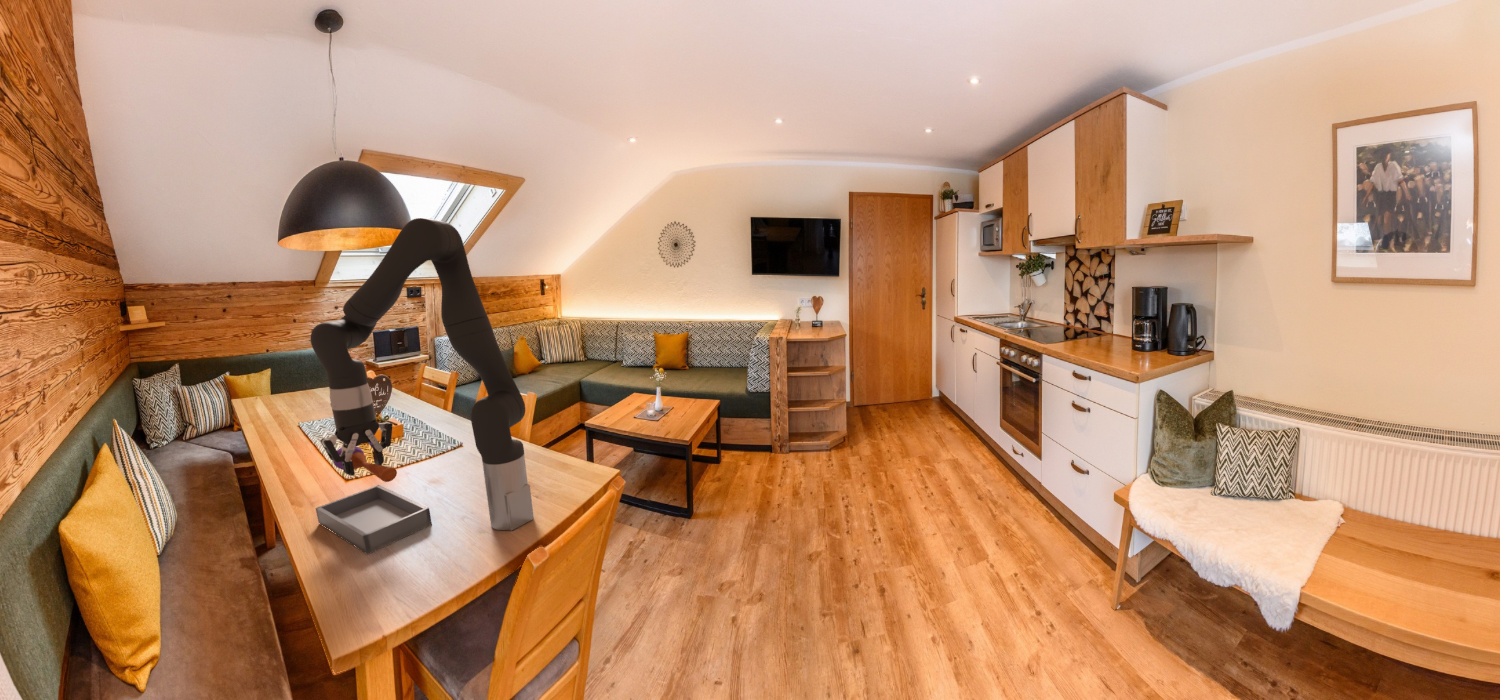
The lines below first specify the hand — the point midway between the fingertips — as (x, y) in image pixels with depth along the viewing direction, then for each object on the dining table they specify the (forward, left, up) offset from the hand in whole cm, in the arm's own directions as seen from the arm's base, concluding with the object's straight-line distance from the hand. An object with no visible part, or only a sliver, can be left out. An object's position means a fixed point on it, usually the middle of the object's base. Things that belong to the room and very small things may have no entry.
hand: (365, 469), depth 115 cm
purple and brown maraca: (0, 0, -1) cm, 1 cm away
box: (0, 0, -15) cm, 15 cm away
